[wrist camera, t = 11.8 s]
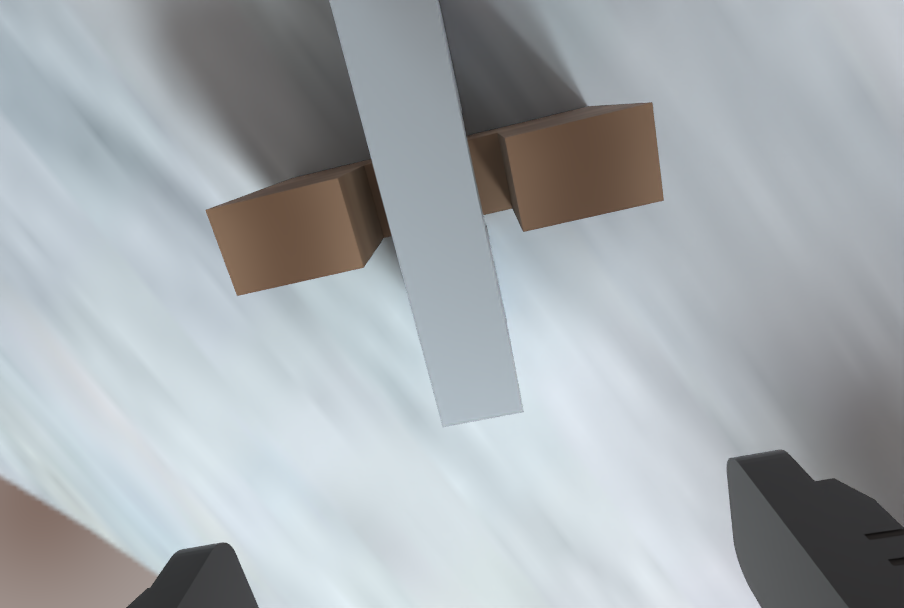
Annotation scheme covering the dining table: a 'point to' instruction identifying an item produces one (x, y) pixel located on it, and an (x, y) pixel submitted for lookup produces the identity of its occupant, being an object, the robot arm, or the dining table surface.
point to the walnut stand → (498, 181)
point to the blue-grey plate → (431, 201)
